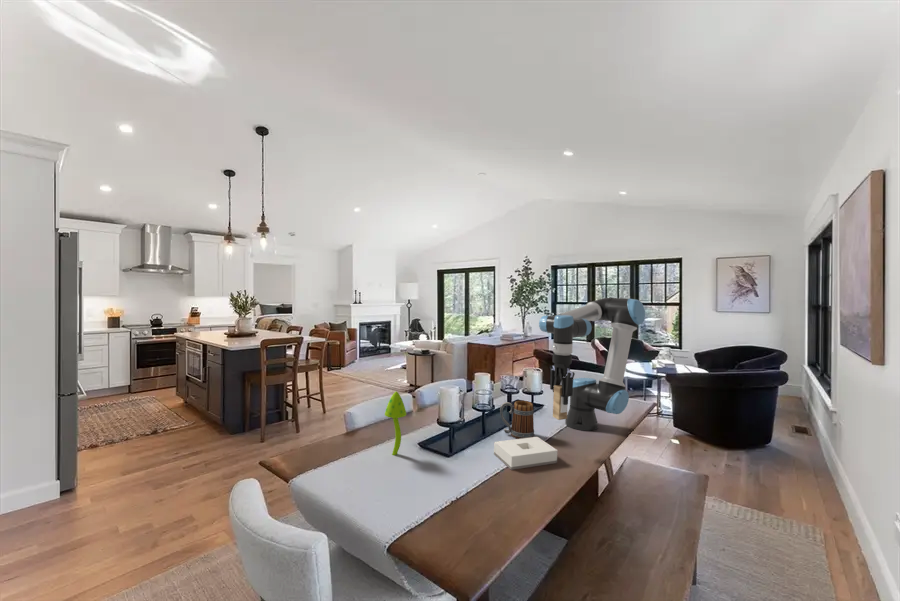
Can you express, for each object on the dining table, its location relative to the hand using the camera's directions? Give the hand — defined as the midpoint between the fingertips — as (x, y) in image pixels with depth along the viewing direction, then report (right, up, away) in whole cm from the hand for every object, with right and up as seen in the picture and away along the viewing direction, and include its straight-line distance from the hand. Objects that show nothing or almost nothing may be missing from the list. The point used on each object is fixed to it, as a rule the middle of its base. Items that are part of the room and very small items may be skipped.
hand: (560, 410), depth 166 cm
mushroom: (-67, -16, -6) cm, 69 cm away
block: (-15, -17, -6) cm, 24 cm away
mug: (-15, -16, +18) cm, 28 cm away
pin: (0, -3, 0) cm, 3 cm away
